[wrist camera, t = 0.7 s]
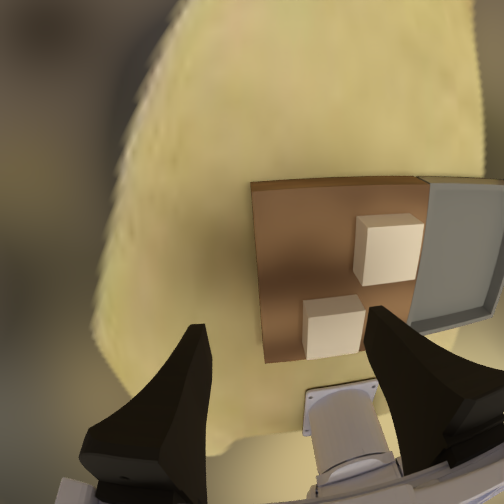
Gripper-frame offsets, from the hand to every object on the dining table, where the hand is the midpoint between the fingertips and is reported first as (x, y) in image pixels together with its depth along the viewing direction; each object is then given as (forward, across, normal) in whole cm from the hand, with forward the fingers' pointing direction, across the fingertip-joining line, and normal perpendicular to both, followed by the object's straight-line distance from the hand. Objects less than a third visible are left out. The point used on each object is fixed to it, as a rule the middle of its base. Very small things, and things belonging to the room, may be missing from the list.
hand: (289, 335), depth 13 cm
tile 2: (+8, -4, +6) cm, 11 cm away
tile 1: (+8, -8, 0) cm, 11 cm away
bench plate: (+10, -5, +3) cm, 12 cm away
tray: (+10, -17, +3) cm, 20 cm away
